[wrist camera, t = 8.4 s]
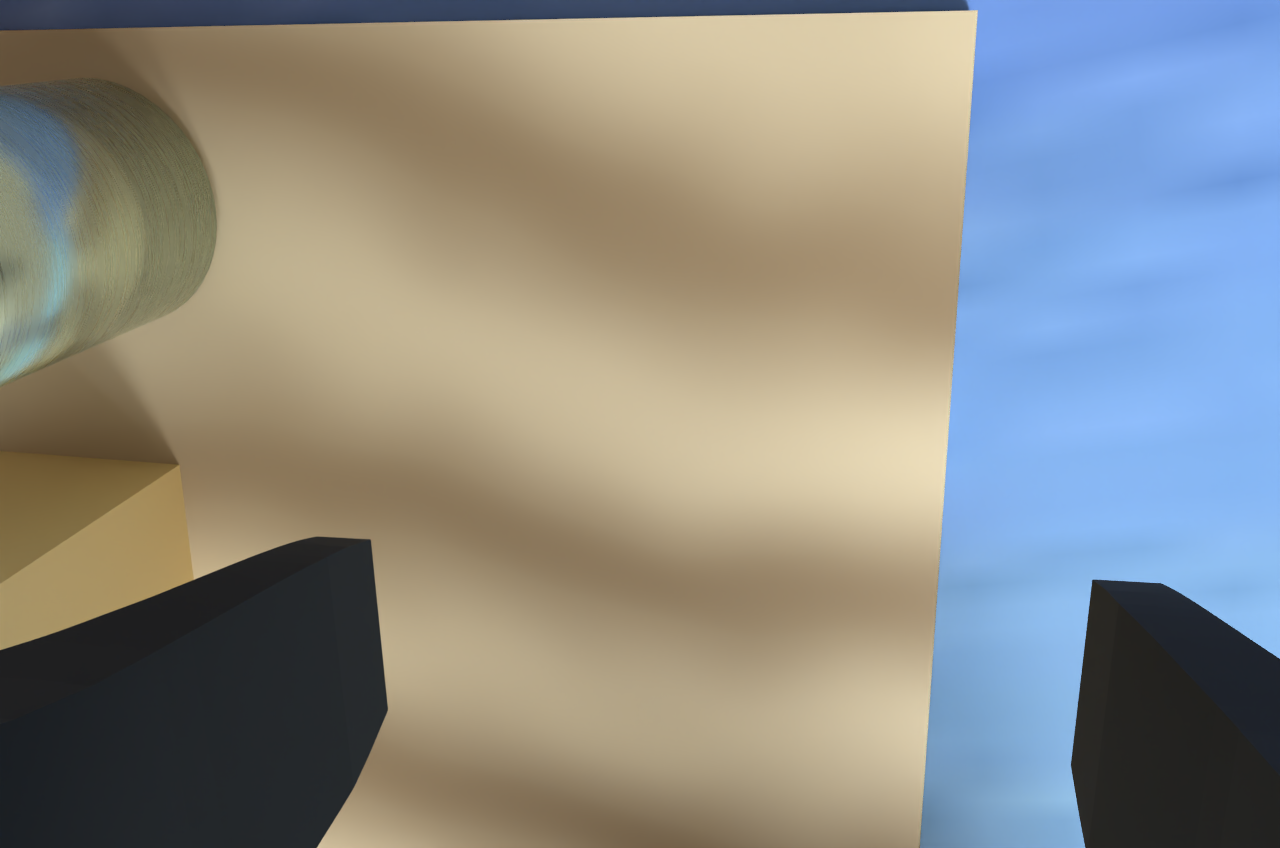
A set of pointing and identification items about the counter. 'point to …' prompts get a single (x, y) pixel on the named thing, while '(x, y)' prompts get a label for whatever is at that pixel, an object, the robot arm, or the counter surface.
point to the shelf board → (572, 397)
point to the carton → (85, 539)
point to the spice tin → (93, 219)
